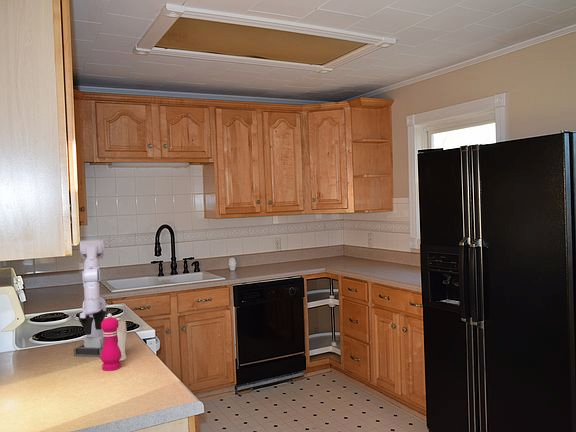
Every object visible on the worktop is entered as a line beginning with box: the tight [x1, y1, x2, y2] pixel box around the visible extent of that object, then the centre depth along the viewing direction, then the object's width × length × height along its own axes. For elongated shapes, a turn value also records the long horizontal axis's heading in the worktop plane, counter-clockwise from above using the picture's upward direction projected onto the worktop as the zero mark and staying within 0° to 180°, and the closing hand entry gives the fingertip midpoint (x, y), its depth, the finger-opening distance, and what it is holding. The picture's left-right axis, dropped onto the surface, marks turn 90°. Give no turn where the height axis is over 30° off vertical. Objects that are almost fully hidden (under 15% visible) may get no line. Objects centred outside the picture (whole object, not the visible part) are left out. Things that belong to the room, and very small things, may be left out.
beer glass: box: [116, 318, 128, 362], centre depth 192 cm, size 7×7×15 cm
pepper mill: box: [99, 312, 122, 372], centre depth 182 cm, size 7×7×20 cm
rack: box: [73, 343, 103, 358], centre depth 201 cm, size 9×12×3 cm
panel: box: [83, 336, 104, 348], centre depth 201 cm, size 2×7×6 cm, turn 80°
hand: (93, 331), depth 201 cm, fingers open, 7 cm apart
